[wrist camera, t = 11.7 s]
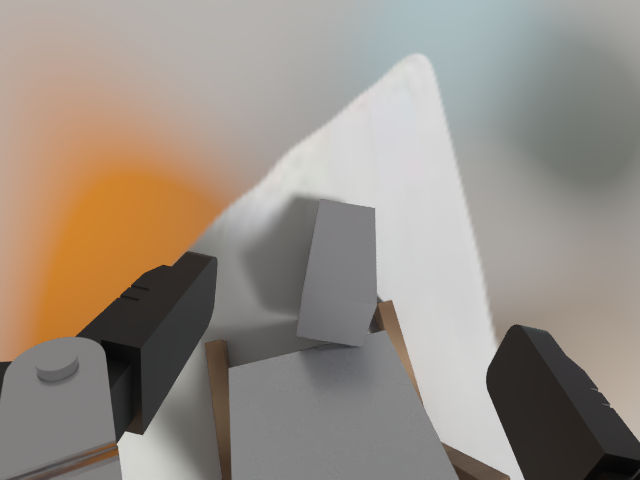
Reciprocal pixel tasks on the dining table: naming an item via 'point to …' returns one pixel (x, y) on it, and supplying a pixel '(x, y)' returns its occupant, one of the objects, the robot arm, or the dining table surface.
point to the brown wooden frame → (470, 471)
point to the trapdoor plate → (332, 417)
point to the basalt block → (340, 275)
